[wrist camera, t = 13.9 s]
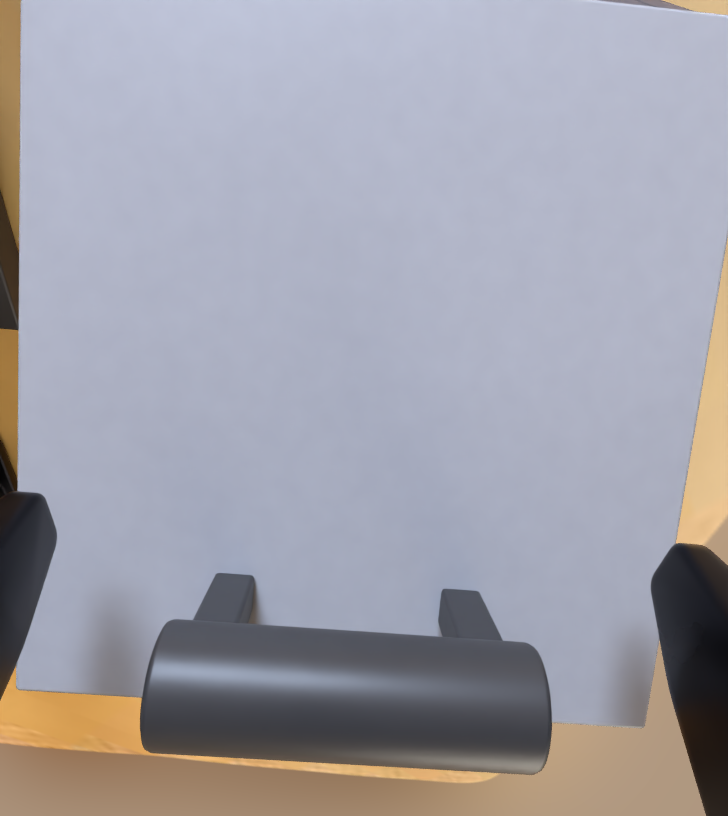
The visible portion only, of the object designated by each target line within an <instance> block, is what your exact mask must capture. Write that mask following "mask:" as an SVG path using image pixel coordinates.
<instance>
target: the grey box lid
mask: <svg viewBox="0 0 728 816" xmlns="http://www.w3.org/2000/svg"><path fill="white" fill-rule="evenodd" d="M727 237H728V15H721V14H712V13H703V12H694V11H686V10H677V9H668V8H659V7H650V6H642V5H633V4H624V3H615V2H607V1H598V0H21V49H20V199H19V349H18V491H22V492H34V493H40V494H42V495H43V496H44V497H45V499H46V501H47V504H48V507H49V509H50V512H51V515H52V518H53V521H54V524H55V527H56V530H57V543H56V547H55V551H54V554H53V557H52V560H51V563H50V566H49V570H48V573H47V576H46V579H45V582H44V585H43V588H42V592H41V595H40V598H39V601H38V604H37V607H36V610H35V614H34V617H33V620H32V623H31V626H30V629H29V632H28V635H27V638H26V641H25V644H24V647H23V649H22V652H21V654H20V657H19V659H18V661H17V664H16V688H17V689H18V690H26V691H42V692H58V693H75V694H91V695H107V696H124V697H140V698H142V702H141V713H140V731H141V741H142V745H143V747H144V749H145V750H147V751H148V752H150V753H159V754H177V755H194V756H212V757H229V758H246V759H264V760H281V761H299V762H316V763H333V764H351V765H368V766H386V767H403V768H420V769H438V770H455V771H472V772H490V773H507V774H526V775H534V774H536V773H538V772H540V771H541V770H542V769H543V768H544V766H545V764H546V761H547V758H548V754H549V749H550V742H551V731H552V723H565V724H580V725H597V726H613V727H629V728H643V727H644V726H645V721H646V715H647V709H648V704H649V698H650V692H651V686H652V680H653V674H654V668H655V662H656V656H657V650H658V645H659V633H658V628H657V623H656V617H655V612H654V606H653V601H652V596H651V580H652V576H653V574H654V572H655V571H656V569H657V568H658V566H659V565H660V563H661V562H662V560H663V559H664V557H665V556H666V554H667V553H668V551H669V550H670V548H671V547H672V546H673V545H675V544H676V538H677V532H678V526H679V521H680V515H681V509H682V503H683V497H684V491H685V485H686V479H687V473H688V467H689V462H690V456H691V450H692V444H693V438H694V432H695V426H696V420H697V414H698V408H699V402H700V397H701V391H702V385H703V379H704V373H705V367H706V361H707V355H708V349H709V343H710V337H711V332H712V326H713V320H714V314H715V308H716V302H717V296H718V290H719V284H720V278H721V272H722V267H723V261H724V255H725V249H726V243H727Z"/></svg>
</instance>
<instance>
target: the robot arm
mask: <svg viewBox="0 0 728 816" xmlns="http://www.w3.org/2000/svg"><path fill="white" fill-rule="evenodd" d="M56 543H57V530H56V527H55V524H54V521H53V518H52V515H51V512H50V509H49V507H48V504H47V501H46V499H45V497H44V496H43V495H42V494H40V493H34V492H22V491H18V481H17V479H16V476H15V474H14V471H13V468H12V466H11V463H10V461H9V458H8V455H7V453H6V450H5V447H4V445H3V443H2V441H1V440H0V700H1V698H2V695H3V693H4V691H5V689H6V686H7V684H8V682H9V680H10V677H11V675H12V673H13V671H14V668H15V666H16V664H17V661H18V659H19V657H20V654H21V652H22V649H23V647H24V644H25V641H26V638H27V635H28V632H29V629H30V626H31V623H32V620H33V617H34V614H35V610H36V607H37V604H38V601H39V598H40V595H41V592H42V588H43V585H44V582H45V579H46V576H47V573H48V570H49V566H50V563H51V560H52V557H53V554H54V551H55V547H56ZM651 596H652V601H653V606H654V612H655V617H656V623H657V628H658V633H659V639H660V644H661V649H662V655H663V660H664V665H665V671H666V676H667V680H668V685H669V690H670V694H671V698H672V702H673V705H674V709H675V712H676V716H677V719H678V722H679V726H680V729H681V733H682V736H683V739H684V743H685V746H686V749H687V753H688V756H689V759H690V763H691V766H692V770H693V773H694V776H695V779H696V783H697V786H698V789H699V793H700V796H701V799H702V803H703V806H704V810H705V813H706V816H728V565H726V564H725V563H724V562H723V561H722V560H721V559H720V558H719V557H718V556H717V555H715V554H714V553H713V552H712V551H711V550H710V549H708V548H707V547H705V546H703V545H697V544H684V543H678V544H675V545H673V546H672V547H671V548H670V550H669V551H668V553H667V554H666V556H665V557H664V559H663V560H662V562H661V563H660V565H659V566H658V568H657V569H656V571H655V572H654V574H653V576H652V580H651Z"/></svg>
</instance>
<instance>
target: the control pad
mask: <svg viewBox="0 0 728 816" xmlns="http://www.w3.org/2000/svg"><path fill="white" fill-rule="evenodd" d="M0 328H1V329H12V330H19V254H18V251H17V247H16V244H15V240H14V237H13V233H12V230H11V226H10V223H9V219H8V216H7V212H6V209H5V205H4V202H3V198H2V195H1V191H0Z"/></svg>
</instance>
